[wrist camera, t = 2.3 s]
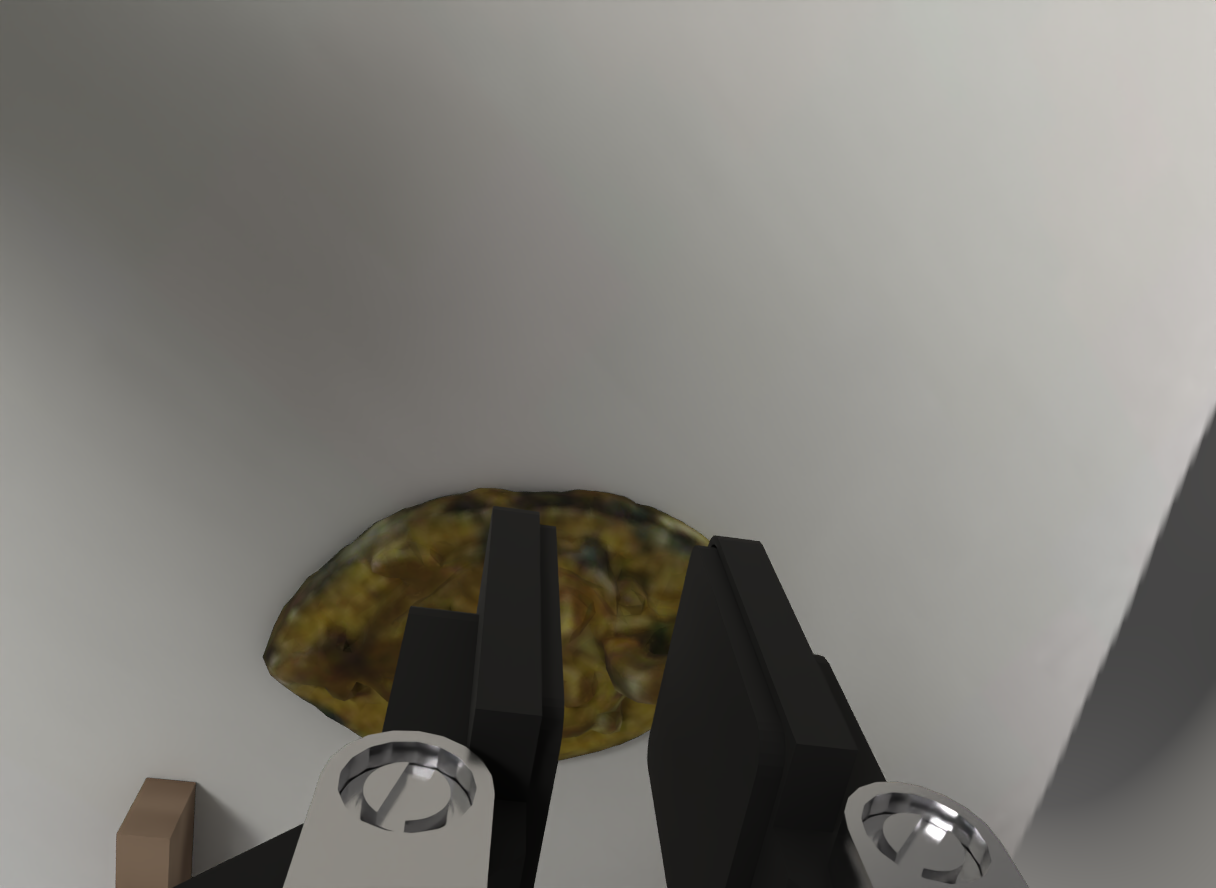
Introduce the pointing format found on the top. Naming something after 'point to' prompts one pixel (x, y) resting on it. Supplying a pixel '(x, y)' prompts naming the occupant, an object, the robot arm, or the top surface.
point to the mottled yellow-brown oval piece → (450, 580)
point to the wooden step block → (157, 836)
